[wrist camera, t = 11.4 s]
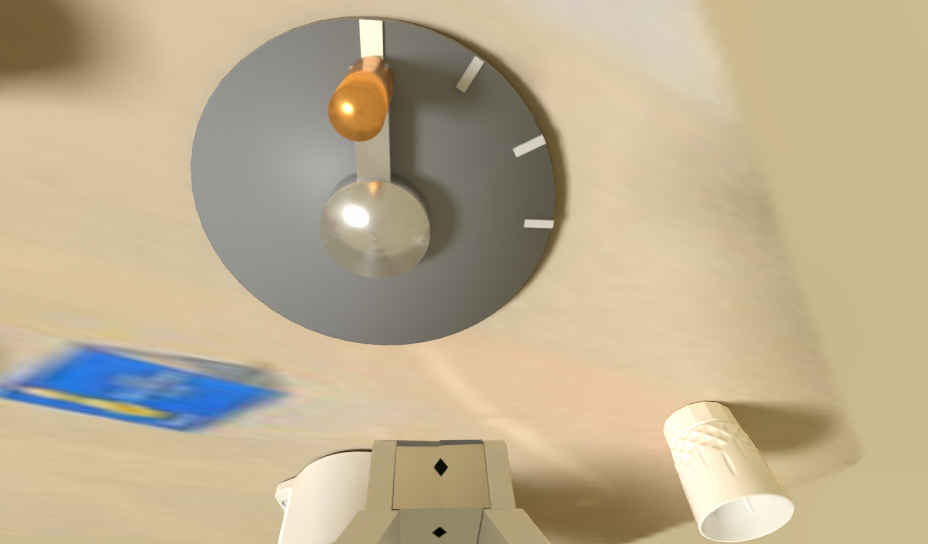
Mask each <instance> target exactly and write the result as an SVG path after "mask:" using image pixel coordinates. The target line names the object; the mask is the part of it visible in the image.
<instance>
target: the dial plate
mask: <svg viewBox="0 0 928 544" xmlns="http://www.w3.org/2000/svg"><path fill="white" fill-rule="evenodd" d="M366 56H373V57H377V58H380V59H381V60H383V61H384V62H386V63H387V64H389V67H390V68H391V70H392V71H393V74H394V77H395V88H394V92H393V95H392V98H391V102H390V126H391V167H392V173H393V174H396V175H399V176H401V177H403V178H405V179H406V180H408V181H409V182H411V183H412V184H413V185H414V186H415V187H416V188H417V189H418V190H419V191H420V192H421V194H422V195H423V196H424V198H425V200H426V202H427V204H428V207H429V211H430V240H429V245H428V248H427V251H426V253H425V255H424V256H423V258H422V259H421V260H420V261H419V263H418V264H417V265H415V266H414V267H413V268H412V269H410V270H409V271H407V272H405V273H403V274H400V275H397V276H393V277H388V278H370V277H365V276H361V275H358V274H355V273H353V272H350V271H349V270H347V269H345V268H343V267H342V266H341V265H339V264H338V263H337V262H336V261H335V260H334V259H333V258H332V257H331V256H330V255H329V253H328V252H327V251H326V249H325V247H324V245H323V243H322V240H321V236H320V229H319V225H320V218H321V214H322V212H323V209H324V207H325V205H326V202H327V200H328V198H329V195H330V193H331V192H332V190H333V189H334V187H335V186H336V185H337V184H338V183H339V182H341V181H342V180H343V179H345V178H346V177H348V176H350V175H352V174H355V173H357V171H356V157H355V142H354V141H351V140H348V139H346V138H344V137H343V136H341V135H340V134H339V133H338V132H337V131H336V130H335V129H334V128H333V126H332V124H331V122H330V120H329V116H328V104H329V101H330V99H331V97H332V95H333V94H334V92H335V91H336V89H337V88H338V86H339V85H340V83H341V82H342V80H343V79H344V77H345V75H346V74H347V72H348V71H349V66H350V64H351V63H352V62H356V61H357V60H358V59H360V58H362V57H366ZM191 180H192V190H193V195H194V200H195V205H196V210H197V212H198V215H199V218H200V221H201V223H202V226H203V229H204V231H205V233H206V235H207V237H208V239H209V241H210V243H211V245H212V247H213V249H214V250H215V252H216V253H217V255H218V256H219V258H220V259H221V261H222V262H223V264H224V265H225V266H226V268H227V269H228V270H229V271H230V272H231V273H232V275H233V276H234V277H235V278H236V279H237V280H238V282H239V283H240V284H241V285H243V286H244V287H245V288H246V289H247V290H248V291H249V292H250V293H251V294H252V295H253V296H254V297H256V298H257V299H258V300H260V301H261V302H262V303H264V304H265V305H266V306H268V307H269V308H270V309H272V310H273V311H275V312H277V313H278V314H280V315H282V316H283V317H285V318H287V319H288V320H290V321H292V322H294V323H296V324H299V325H301V326H303V327H305V328H307V329H309V330H312V331H315V332H318V333H320V334H323V335H326V336H330V337H333V338H337V339H341V340H345V341H350V342H357V343H363V344H374V345H405V344H413V343H421V342H426V341H431V340H435V339H440V338H443V337H446V336H449V335H452V334H455V333H458V332H460V331H462V330H465V329H467V328H469V327H471V326H473V325H475V324H477V323H479V322H480V321H482V320H484V319H485V318H487V317H489V316H491V315H492V314H493V313H495V312H496V311H497V310H498V309H500V308H501V307H502V306H504V305H505V304H506V303H507V302H508V301H509V300H510V299H511V298H512V297H513V296H514V295H515V294H516V293H517V292H518V291H519V290H520V289H521V288H522V286H523V285H524V284H525V283H526V281H527V280H528V279H529V278H530V276H531V275H532V273H533V271H534V270H535V268H536V266H537V265H538V263H539V261H540V259H541V257H542V255H543V252H544V250H545V248H546V245H547V243H548V240H549V236H550V232H551V229H552V228H553V224H554V220H553V218H554V210H555V180H554V175H553V169H552V163H551V159H550V156H549V153H548V150H547V146H546V142H545V140H544V137H543V135H542V133H541V131H540V129H539V127H538V125H537V123H536V121H535V119H534V117H533V115H532V113H531V111H530V110H529V108H528V107H527V105H526V104H525V102H524V101H523V99H522V98H521V96H520V95H519V94H518V92H517V91H516V89H515V88H514V87H513V86H512V85H511V84H510V83H509V82H508V81H507V80H506V79H505V77H504V76H503V75H502V74H501V73H500V72H499V71H498V70H497V69H496V68H494V67H493V66H492V65H491V64H489V63H488V62H487V61H486V60H485V59H483V58H482V57H481V56H480V55H479V54H477V53H475V52H474V51H472V50H471V49H469V48H467V47H466V46H464V45H463V44H461V43H459V42H458V41H456V40H454V39H452V38H450V37H448V36H445V35H443V34H441V33H439V32H436V31H434V30H432V29H429V28H426V27H423V26H419V25H416V24H412V23H409V22H405V21H402V20H394V19H387V18H380V17H341V18H334V19H328V20H321V21H316V22H313V23H310V24H307V25H304V26H301V27H297V28H294V29H291V30H289V31H287V32H285V33H283V34H281V35H279V36H277V37H275V38H273V39H271V40H269V41H268V42H266V43H265V44H263V45H262V46H260V47H259V48H257V49H256V50H255V51H253V52H252V53H251V54H249V55H248V56H246V57H245V58H244V59H242V60H241V61H240V62H239V63H238V64H237V65H236V66H235V67H234V68H233V69H232V70H231V71H230V72H229V73H228V74H227V75H226V76H225V77H224V78H223V79H222V81H221V82H220V84H219V85H218V87H217V88H216V90H215V91H214V92H213V94H212V95H211V97H210V98H209V100H208V102H207V104H206V107H205V109H204V111H203V113H202V115H201V117H200V120H199V122H198V126H197V130H196V134H195V137H194V141H193V148H192V158H191Z"/></svg>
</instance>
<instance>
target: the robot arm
mask: <svg viewBox="0 0 928 544" xmlns="http://www.w3.org/2000/svg"><path fill="white" fill-rule="evenodd" d="M275 497H276V499H277V501H278V502H279V504H280V505H281V507H282V508H283V510H284V511H285V514H284V519H283V524H282V528H281V533H280V538H279V542H278V544H551V543H550V542H549V541H548V539H547V538H546V537H545V536H544V534H543V533H542V532H541V531H540V530H539V528H538V527H537V526H536V525H535V523H534V522H533V521H532V520H531V518H530V517H529V516H528V515H527V513H526V512H525V511H524V510H523V509H517V508H516V504H515V498H514V491H513V485H512V479H511V472H510V466H509V460H508V453H507V447H506V444H505V442H504V440H485V441H482V440H440V441H404V440H374V443H373V447H372V452H345V453H338V454H334V455H330V456H326V457H324V458H321V459H319V460H317V461H315V462H313V463H311V464H310V465H308V466H307V467H306V468H305V469H304V470H303V471H302V472H301V473H300V474H299V475H298V476H297V477H295V478H293V479H290V480H287V481H285V482H283V483H281V484H279V485H278V486H277V488H276V494H275Z"/></svg>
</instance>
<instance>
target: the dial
mask: <svg viewBox="0 0 928 544" xmlns="http://www.w3.org/2000/svg"><path fill="white" fill-rule="evenodd" d="M394 88H395V77H394V74H393V71H392V70H391V68H390V67H389V64H387V63H386V62H384V61H383V60H381V59H380V58H377V57H373V56H366V57H362V58H360V59H358V60H357V61H356V62H352V63H351V64H350V66H349V71H348V72H347V74H346V75H345V77H344V79H343V80H342V82H341V83H340V85H339V86H338V88H337V89H336V91H335V92H334V94H333V95H332V97H331V99H330V101H329V104H328V116H329V120H330V122H331V124H332V126H333V128H334V129H335V130H336V131H337V132H338V133H339V134H340V135H341V136H343V137H344V138H346V139H348V140H351V141H354V142H355V157H356V171H357V173H355V174H352V175H350V176H348V177H346V178H345V179H343V180H342V181H341V182H339V183H338V184H337V185H336V186H335V187H334V189H333V190H332V192H331V193H330V195H329V198H328V200H327V202H326V205H325V207H324V209H323V212H322V214H321V218H320V225H319V229H320V236H321V240H322V243H323V245H324V247H325V249H326V251H327V252H328V253H329V255H330V256H331V257H332V258H333V259H334V260H335V261H336V262H337V263H338V264H339V265H341V266H342V267H343V268H345V269H347V270H349V271H350V272H353V273H355V274H358V275H361V276H365V277H370V278H388V277H393V276H397V275H400V274H403V273H405V272H407V271H409V270H410V269H412V268H413V267H414V266H415V265H417V264H418V263H419V261H420V260H421V259H422V258H423V256H424V255H425V253H426V251H427V248H428V245H429V240H430V211H429V207H428V204H427V202H426V200H425V198H424V196H423V195H422V194H421V192H420V191H419V190H418V189H417V188H416V187H415V186H414V185H413V184H412V183H411V182H409V181H408V180H406V179H405V178H403V177H401V176H399V175H396V174H393V173H392V167H391V126H390V102H391V98H392V95H393V92H394Z"/></svg>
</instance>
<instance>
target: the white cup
mask: <svg viewBox="0 0 928 544" xmlns="http://www.w3.org/2000/svg"><path fill="white" fill-rule="evenodd" d="M663 432H664V434H665V437H666V440H667V442H668V445H669V447H670V450H671V452H672V456H673V461H674V464H675V467H676V470H677V472H678V475H679V478H680V481H681V484H682V487H683V489H684V492H685V495H686V497H687V500H688V502H689V505H690V508H691V510H692V513H693V515H694V518H695V521H696V523H697V526H698V529H699V531H700V533H701V534H702V535H703V536H704V537H705V538H707V539H710V540H713V541H716V542H726V543H733V542H743V541H748V540H753V539H756V538H759V537H762V536H765V535H768V534H770V533H772V532H774V531H776V530H778V529H780V528H781V527H783V526H784V525H785V524H786V523H788V522H789V521H790V519H791V518H792V517H793V515H794V513H795V505H794V503H793V502H792V500H791V499H790V497H789V496H788V494H787V493H786V491H785V490H784V488H783V487H782V485H781V484H780V482H779V481H778V479H777V478H776V476H775V475H774V473H773V472H772V470H771V469H770V467H769V465H768V464H767V462H766V461H765V459H764V458H763V456H762V455H761V453H760V452H759V450H758V449H757V448H756V446H755V445H754V443H753V442H752V441H751V439H750V438H749V436H748V435H747V434H746V433H745V432H744V431H743V430H742V428H741V426H740V425H739V424H738V422H737V420H736V419H735V417H734V416H733V414H732V413H731V411H730V410H729V408H728V407H726V406H724V405H722V404H720V403H718V402H705V401H703V402H698V403H694V404H689V405H686V406H685V407H683V408H681V409H679V410H677V411H675V412H674V413H673V414H672V415H671V416H670V417H669V418H668V419H667V420H666V422H665V426H664V430H663Z"/></svg>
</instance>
